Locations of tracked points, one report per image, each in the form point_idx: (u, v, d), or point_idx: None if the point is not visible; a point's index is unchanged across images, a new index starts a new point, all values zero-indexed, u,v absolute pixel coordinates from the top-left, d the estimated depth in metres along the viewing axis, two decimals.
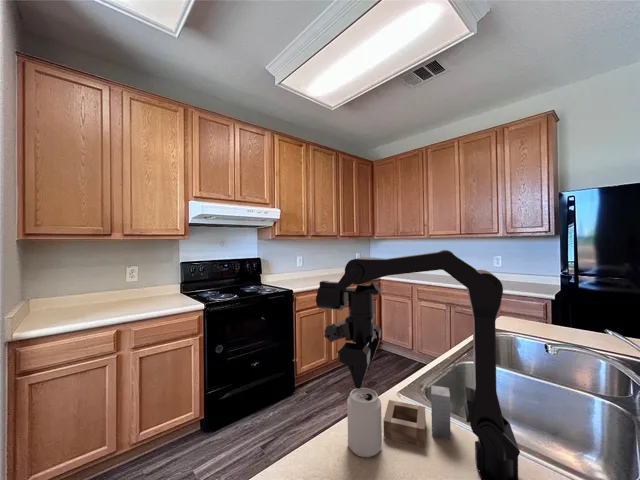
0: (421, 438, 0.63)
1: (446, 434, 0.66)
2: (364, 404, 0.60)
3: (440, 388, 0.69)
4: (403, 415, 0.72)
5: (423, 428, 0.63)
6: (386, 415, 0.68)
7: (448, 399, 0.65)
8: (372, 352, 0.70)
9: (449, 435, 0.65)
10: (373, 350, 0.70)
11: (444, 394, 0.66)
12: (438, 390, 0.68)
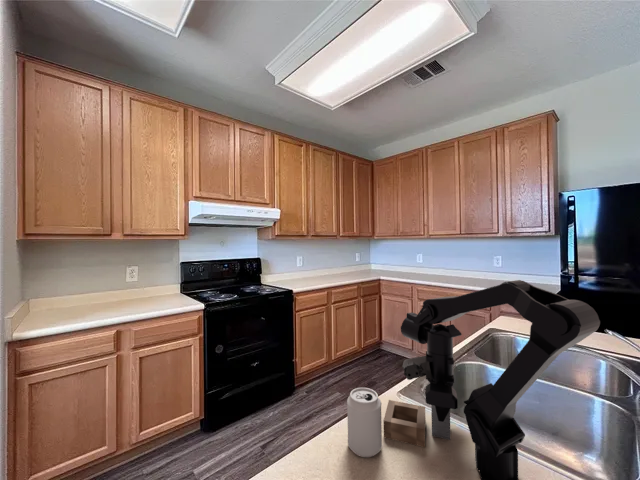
0: (421, 438, 0.63)
1: (446, 434, 0.66)
2: (364, 404, 0.60)
3: None
4: (403, 415, 0.72)
5: (423, 428, 0.63)
6: (386, 415, 0.68)
7: None
8: None
9: (449, 435, 0.65)
10: None
11: None
12: None
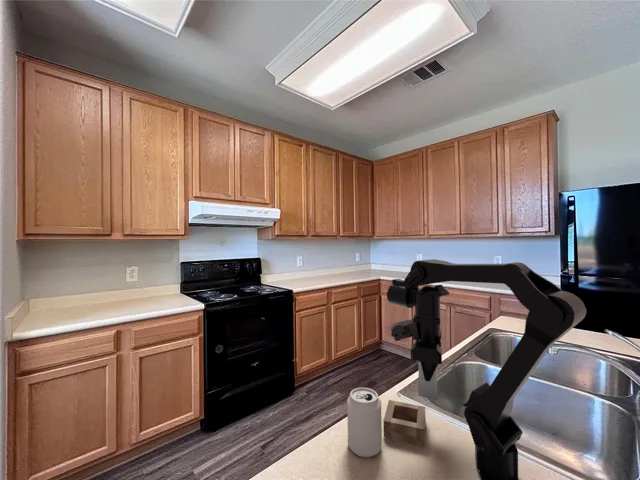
0: (421, 438, 0.63)
1: (432, 394, 0.66)
2: (364, 404, 0.60)
3: None
4: (403, 415, 0.72)
5: (423, 428, 0.63)
6: (386, 415, 0.68)
7: None
8: None
9: (435, 394, 0.66)
10: None
11: None
12: None
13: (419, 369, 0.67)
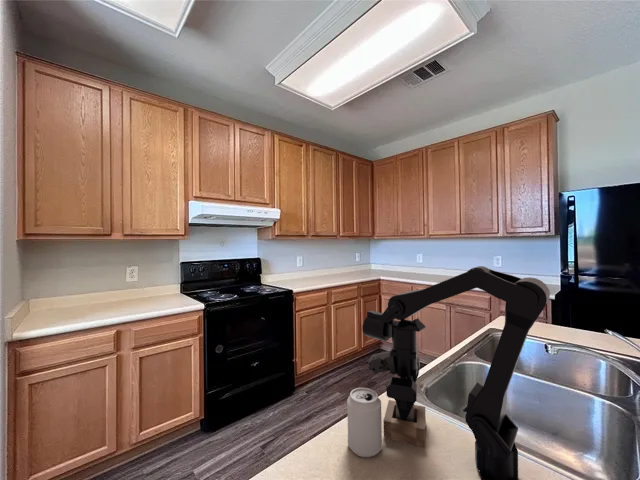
0: (421, 438, 0.63)
1: None
2: (364, 404, 0.60)
3: None
4: None
5: (423, 428, 0.63)
6: (386, 415, 0.68)
7: None
8: None
9: None
10: (413, 381, 0.72)
11: None
12: None
13: (396, 407, 0.68)
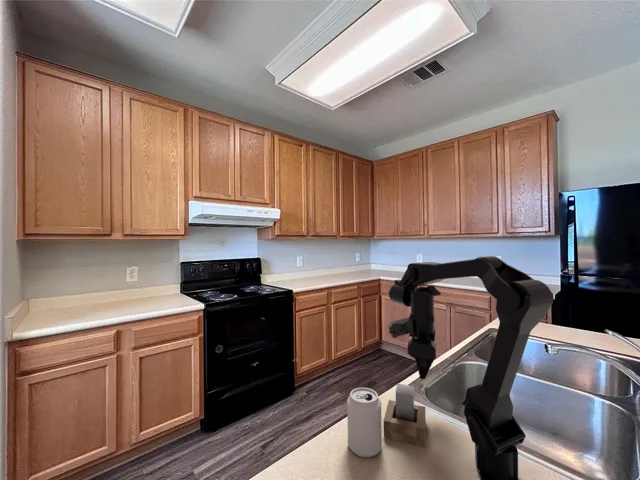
0: (421, 438, 0.63)
1: None
2: (364, 404, 0.60)
3: (405, 386, 0.70)
4: None
5: (423, 428, 0.63)
6: (386, 415, 0.68)
7: (411, 397, 0.66)
8: None
9: None
10: None
11: (408, 392, 0.67)
12: (402, 388, 0.69)
13: (396, 407, 0.68)
